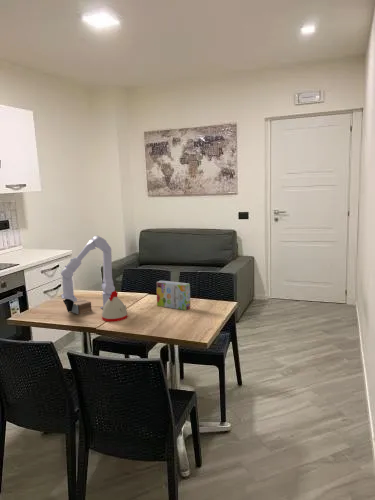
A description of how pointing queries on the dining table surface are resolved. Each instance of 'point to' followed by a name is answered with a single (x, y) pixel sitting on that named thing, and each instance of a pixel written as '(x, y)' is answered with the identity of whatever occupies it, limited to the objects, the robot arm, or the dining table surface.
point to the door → (75, 309)
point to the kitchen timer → (114, 309)
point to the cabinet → (83, 305)
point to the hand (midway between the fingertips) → (69, 311)
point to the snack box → (173, 294)
